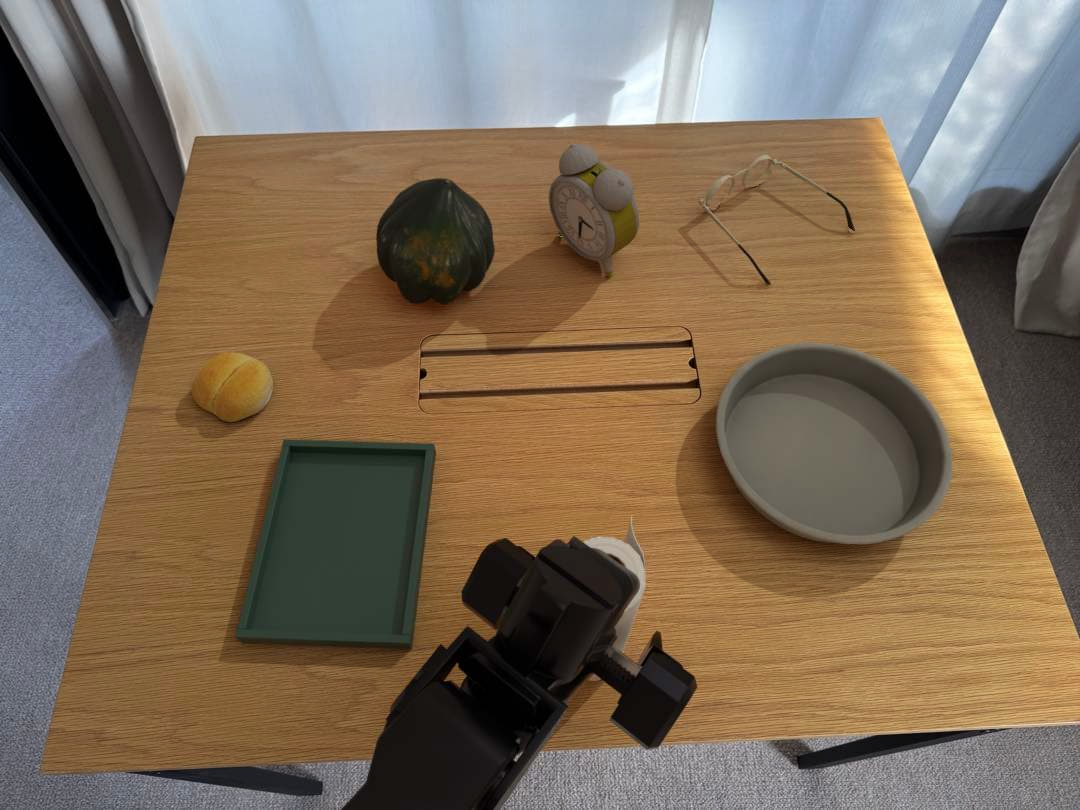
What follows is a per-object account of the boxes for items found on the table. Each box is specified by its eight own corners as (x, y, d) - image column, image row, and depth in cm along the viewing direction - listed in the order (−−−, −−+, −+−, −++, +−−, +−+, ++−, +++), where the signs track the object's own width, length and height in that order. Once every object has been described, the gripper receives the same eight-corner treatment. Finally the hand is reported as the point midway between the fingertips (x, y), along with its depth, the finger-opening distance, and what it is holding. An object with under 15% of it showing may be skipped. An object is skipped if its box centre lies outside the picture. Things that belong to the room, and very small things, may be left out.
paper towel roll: (578, 694, 72) (590, 630, 54) (547, 637, 75) (548, 557, 56) (644, 657, 74) (676, 582, 55) (611, 602, 76) (632, 514, 58)
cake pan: (965, 557, 79) (986, 540, 75) (725, 561, 79) (735, 545, 75) (901, 362, 92) (916, 339, 88) (696, 365, 92) (702, 342, 88)
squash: (344, 286, 91) (414, 217, 82) (368, 202, 100) (434, 130, 90) (441, 341, 99) (516, 284, 89) (455, 258, 107) (525, 197, 98)
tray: (412, 648, 74) (408, 643, 72) (241, 642, 74) (234, 637, 73) (436, 452, 86) (434, 443, 84) (288, 448, 86) (283, 439, 84)
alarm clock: (546, 237, 103) (546, 146, 90) (583, 213, 105) (588, 121, 93) (606, 287, 98) (615, 198, 85) (643, 261, 101) (658, 171, 88)
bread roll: (244, 434, 87) (232, 416, 83) (185, 401, 89) (171, 382, 86) (291, 382, 91) (282, 362, 87) (234, 351, 93) (222, 331, 90)
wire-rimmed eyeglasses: (776, 170, 110) (786, 141, 106) (857, 232, 103) (871, 204, 99) (687, 219, 105) (693, 191, 100) (766, 289, 98) (776, 262, 94)
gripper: (708, 678, 46) (755, 594, 60) (472, 506, 53) (565, 466, 67) (623, 805, 50) (686, 698, 64) (411, 630, 56) (511, 567, 70)
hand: (611, 602), depth 66 cm, fingers open, 9 cm apart
